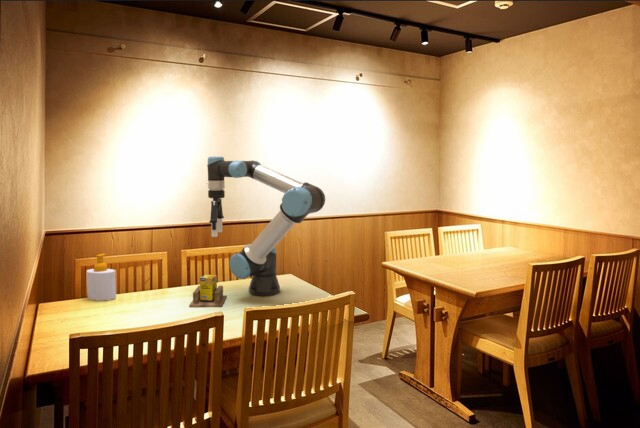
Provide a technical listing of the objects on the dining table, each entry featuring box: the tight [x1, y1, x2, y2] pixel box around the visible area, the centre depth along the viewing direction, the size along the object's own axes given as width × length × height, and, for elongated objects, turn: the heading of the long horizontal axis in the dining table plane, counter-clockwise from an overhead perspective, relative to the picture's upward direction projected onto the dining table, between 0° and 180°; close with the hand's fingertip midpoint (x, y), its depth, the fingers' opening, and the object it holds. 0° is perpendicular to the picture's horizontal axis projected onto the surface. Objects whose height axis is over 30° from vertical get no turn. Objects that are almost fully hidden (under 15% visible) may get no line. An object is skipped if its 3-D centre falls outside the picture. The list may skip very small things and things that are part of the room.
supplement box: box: [199, 274, 218, 302], centre depth 211 cm, size 6×6×11 cm
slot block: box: [189, 285, 228, 308], centre depth 211 cm, size 14×14×6 cm
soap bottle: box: [86, 253, 117, 302], centre depth 215 cm, size 13×8×20 cm, turn 81°
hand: (217, 234), depth 222 cm, fingers open, 13 cm apart
